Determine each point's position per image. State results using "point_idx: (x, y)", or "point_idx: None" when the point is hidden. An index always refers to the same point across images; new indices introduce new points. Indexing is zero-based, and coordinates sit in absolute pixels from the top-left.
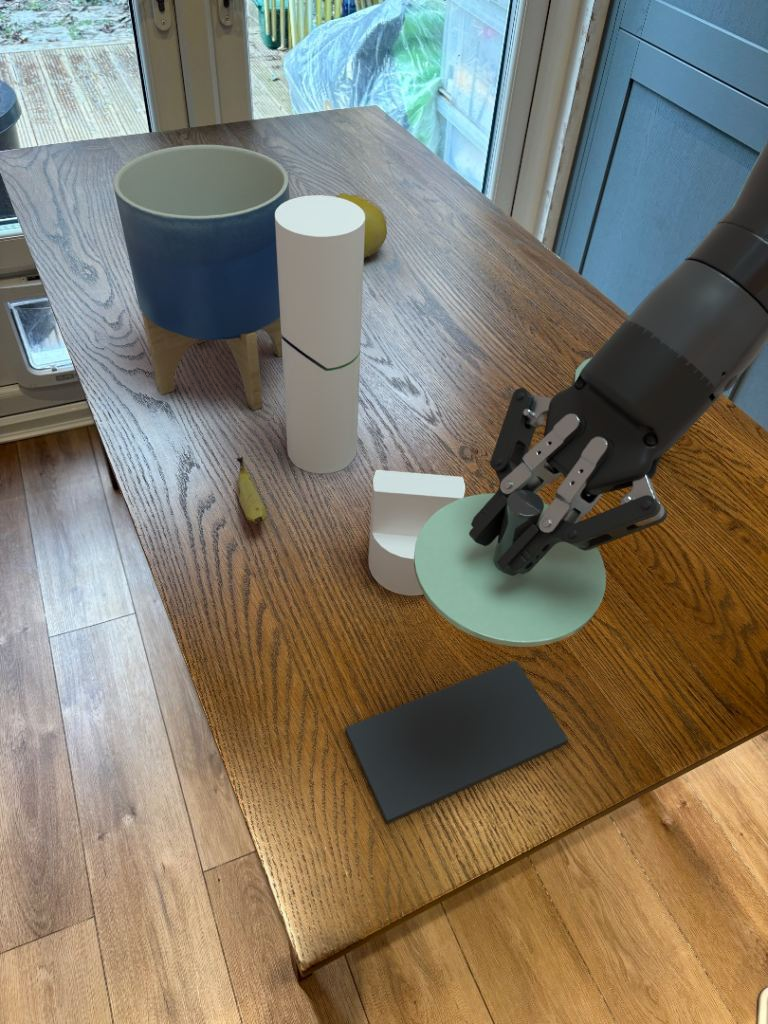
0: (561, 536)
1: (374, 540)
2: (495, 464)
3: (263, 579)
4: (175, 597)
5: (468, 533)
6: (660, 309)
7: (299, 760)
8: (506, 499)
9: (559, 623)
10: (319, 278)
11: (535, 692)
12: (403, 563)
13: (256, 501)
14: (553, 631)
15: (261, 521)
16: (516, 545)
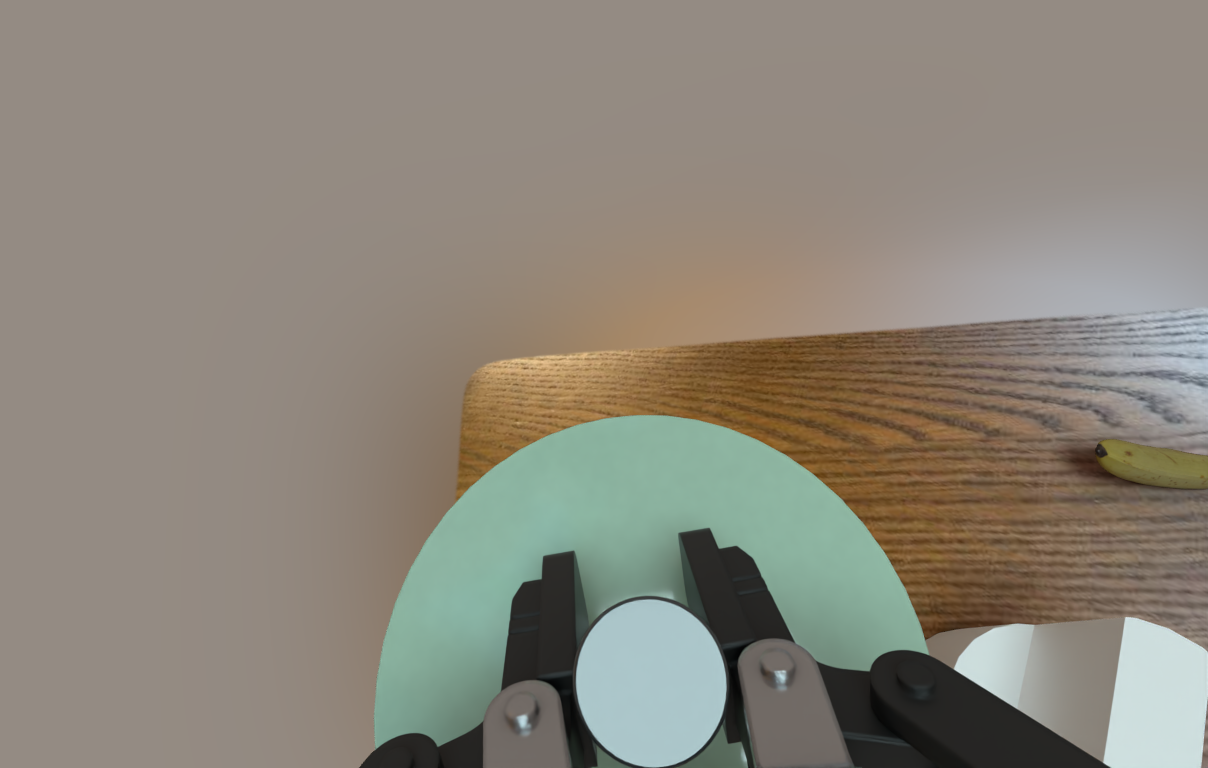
0: (457, 745)
1: (1013, 624)
2: (902, 662)
3: (973, 450)
4: (954, 331)
5: (780, 603)
6: None
7: (662, 414)
8: (728, 641)
9: (410, 690)
10: None
11: None
12: (947, 662)
13: (1153, 461)
14: (398, 657)
15: (1097, 457)
16: (561, 602)
